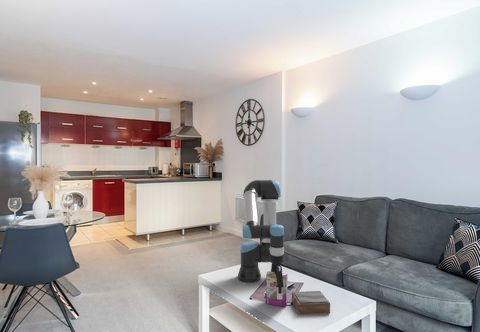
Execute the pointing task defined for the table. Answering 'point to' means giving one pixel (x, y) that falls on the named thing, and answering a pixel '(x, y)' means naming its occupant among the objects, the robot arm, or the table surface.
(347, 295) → the table surface
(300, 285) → the table surface
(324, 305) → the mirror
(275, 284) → the candy bar box
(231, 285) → the table surface
